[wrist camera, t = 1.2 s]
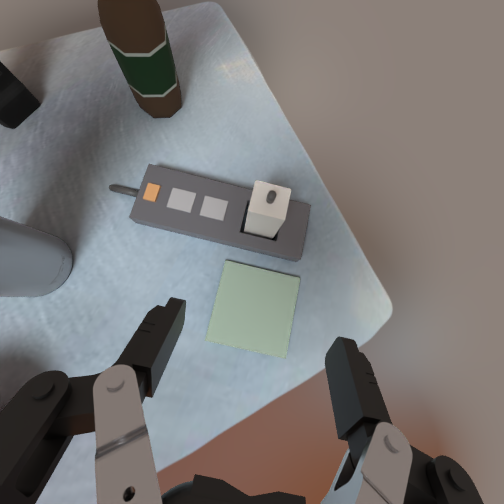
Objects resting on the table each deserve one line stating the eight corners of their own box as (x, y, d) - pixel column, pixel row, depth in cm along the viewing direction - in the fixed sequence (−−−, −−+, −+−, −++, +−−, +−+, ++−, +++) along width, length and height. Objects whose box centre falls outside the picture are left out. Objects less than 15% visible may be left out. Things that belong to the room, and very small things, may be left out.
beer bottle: (174, 126, 40) (95, -118, 17) (131, 112, 40) (-11, -155, 16) (189, 91, 42) (137, -175, 18) (148, 77, 42) (42, -209, 18)
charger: (243, 234, 37) (248, 205, 26) (249, 210, 38) (256, 173, 27) (270, 240, 37) (288, 215, 26) (276, 217, 38) (294, 183, 27)
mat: (205, 339, 34) (204, 340, 33) (225, 260, 36) (225, 260, 36) (284, 357, 34) (285, 358, 33) (299, 278, 37) (300, 278, 36)
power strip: (100, 214, 36) (89, 207, 33) (120, 164, 38) (111, 153, 35) (296, 261, 37) (301, 258, 34) (305, 210, 39) (311, 203, 36)
